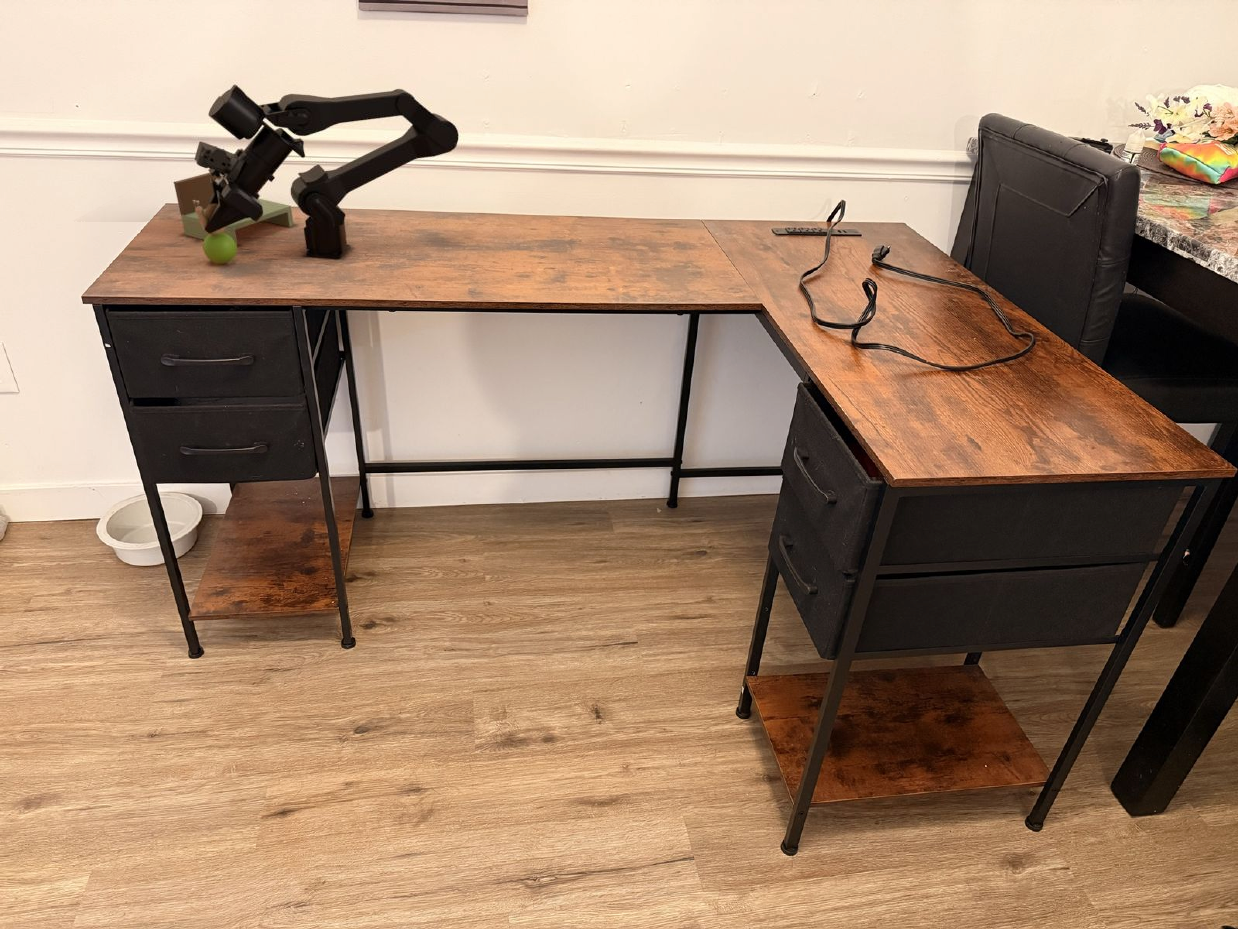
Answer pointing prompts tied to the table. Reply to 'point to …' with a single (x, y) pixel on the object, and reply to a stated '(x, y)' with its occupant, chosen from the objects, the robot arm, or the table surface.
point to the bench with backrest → (202, 192)
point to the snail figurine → (215, 238)
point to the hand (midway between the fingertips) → (205, 227)
